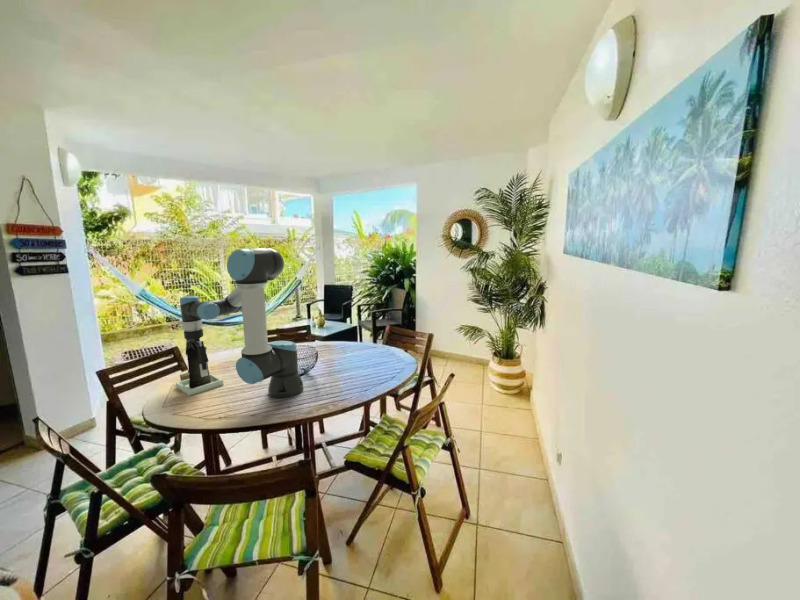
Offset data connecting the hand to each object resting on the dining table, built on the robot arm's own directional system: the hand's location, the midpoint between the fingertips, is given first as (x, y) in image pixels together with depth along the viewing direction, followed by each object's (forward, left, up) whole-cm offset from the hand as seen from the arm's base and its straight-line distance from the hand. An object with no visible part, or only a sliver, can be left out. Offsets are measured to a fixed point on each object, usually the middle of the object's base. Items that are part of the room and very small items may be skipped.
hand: (198, 372), depth 158 cm
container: (0, 0, -6) cm, 6 cm away
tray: (0, 0, -7) cm, 7 cm away
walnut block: (+11, +2, -7) cm, 13 cm away
